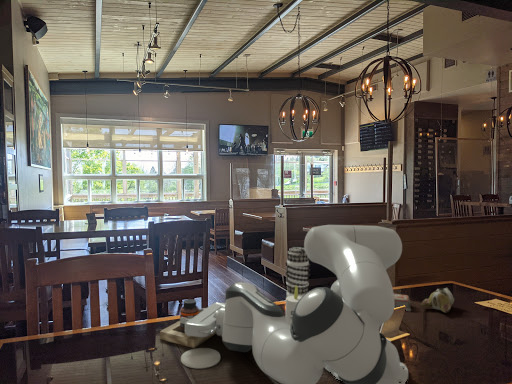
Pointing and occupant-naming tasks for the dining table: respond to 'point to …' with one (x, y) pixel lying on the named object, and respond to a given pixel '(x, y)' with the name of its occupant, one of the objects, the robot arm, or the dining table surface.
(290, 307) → the candle
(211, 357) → the coaster
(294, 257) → the decorative candle
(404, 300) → the packaged product
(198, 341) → the square frame
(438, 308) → the ceramic sculpture
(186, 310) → the supplement bottle
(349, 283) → the robot arm
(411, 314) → the dining table surface
